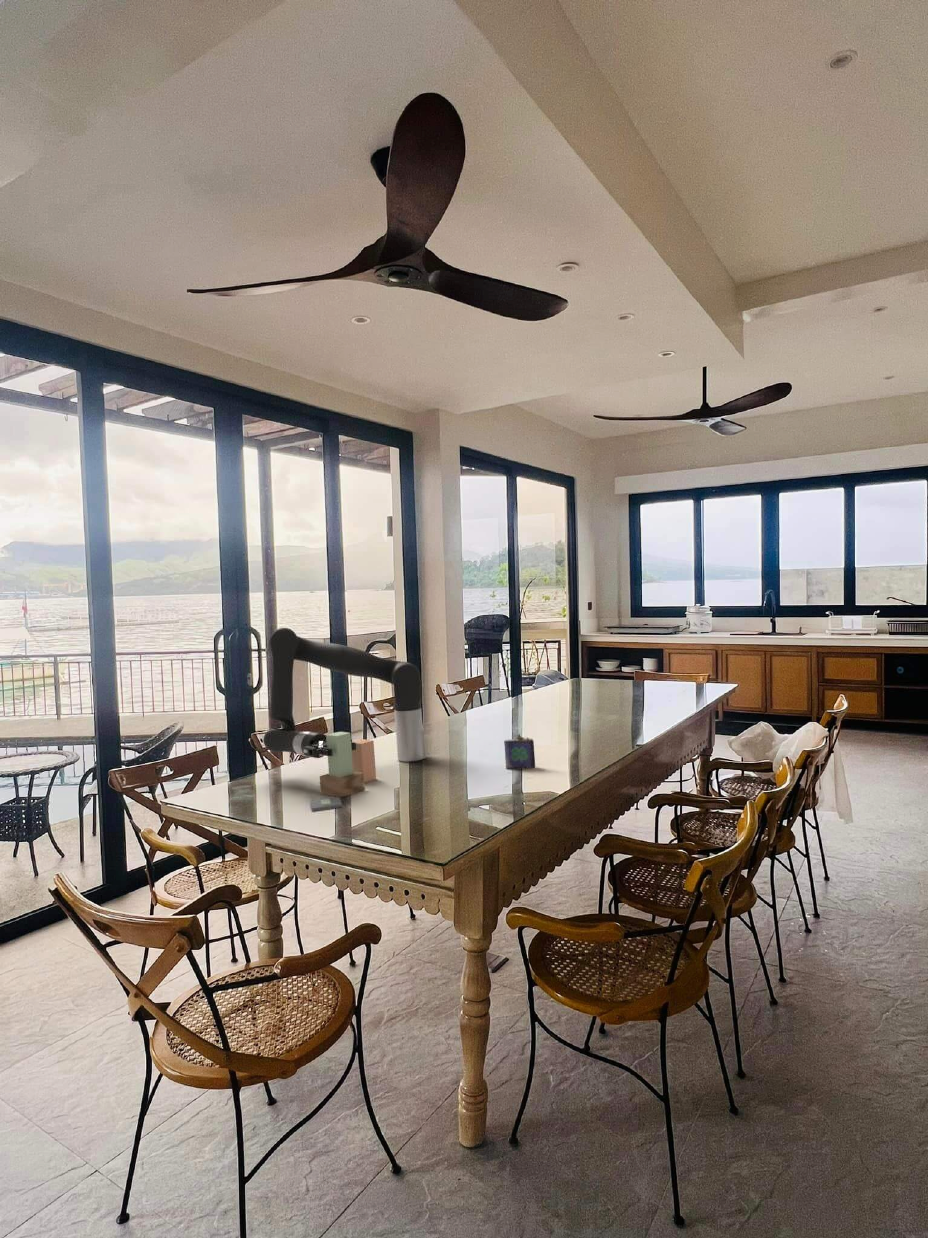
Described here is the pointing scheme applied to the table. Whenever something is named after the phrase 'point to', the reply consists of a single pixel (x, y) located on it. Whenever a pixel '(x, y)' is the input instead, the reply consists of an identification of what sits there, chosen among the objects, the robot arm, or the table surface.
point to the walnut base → (342, 784)
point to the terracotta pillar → (364, 759)
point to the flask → (519, 753)
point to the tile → (325, 804)
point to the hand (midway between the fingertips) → (343, 749)
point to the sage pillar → (340, 754)
